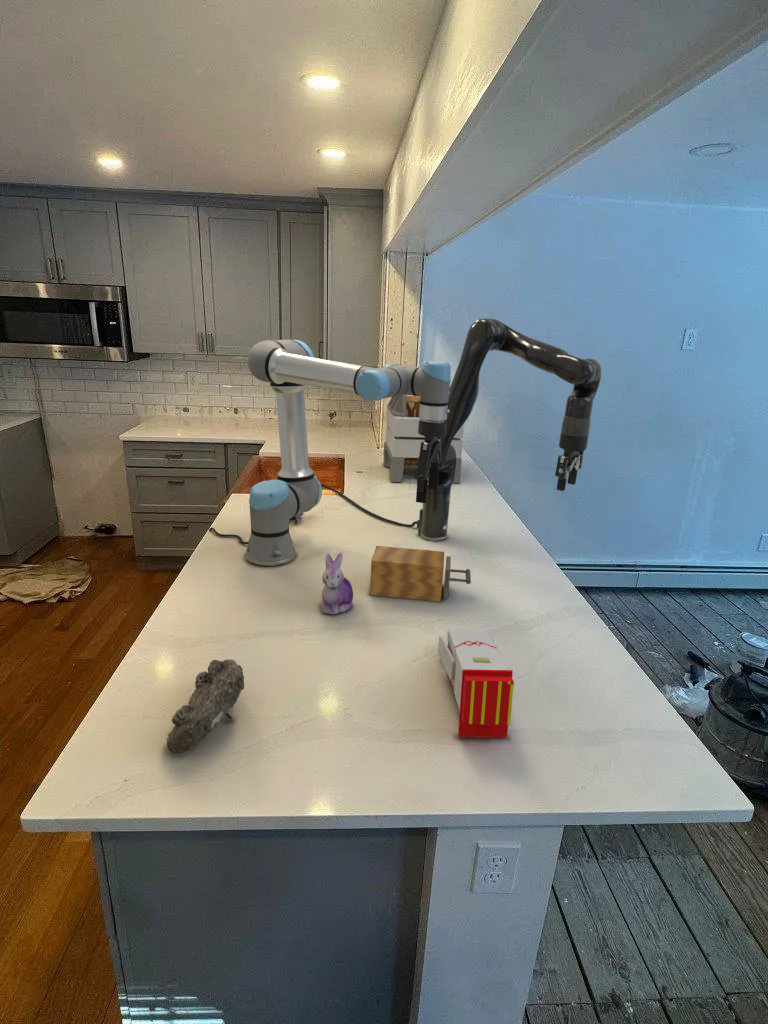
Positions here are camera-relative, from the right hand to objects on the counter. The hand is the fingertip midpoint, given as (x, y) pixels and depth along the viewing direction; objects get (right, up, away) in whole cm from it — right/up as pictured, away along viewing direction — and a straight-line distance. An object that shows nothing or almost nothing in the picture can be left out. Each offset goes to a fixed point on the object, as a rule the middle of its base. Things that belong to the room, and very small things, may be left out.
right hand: (565, 487), depth 165 cm
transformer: (-36, +12, +110) cm, 116 cm away
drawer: (-41, -29, -5) cm, 50 cm away
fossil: (-86, -46, -57) cm, 113 cm away
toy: (-35, -45, -46) cm, 73 cm away
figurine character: (-86, -10, +45) cm, 97 cm away
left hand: (-41, -3, -5) cm, 41 cm away
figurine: (-65, -32, -15) cm, 75 cm away
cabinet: (-47, -29, -4) cm, 55 cm away
